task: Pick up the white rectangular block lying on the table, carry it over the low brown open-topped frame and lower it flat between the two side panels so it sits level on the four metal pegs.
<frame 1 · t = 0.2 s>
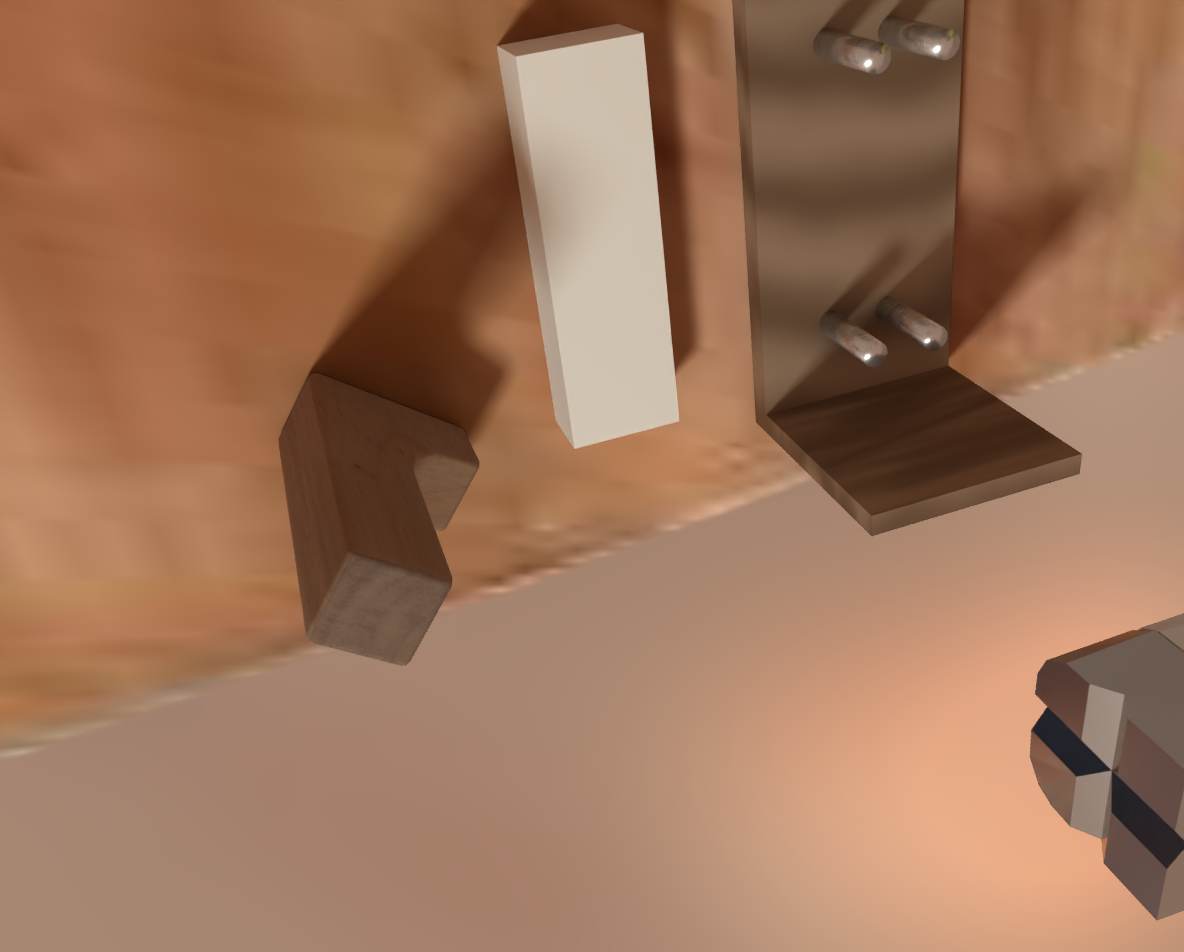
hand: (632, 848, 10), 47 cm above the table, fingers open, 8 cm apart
brown open-topped frame: (844, 178, 60), on the table
wooden block: (372, 432, 59), on the table
white rectangular block: (582, 235, 58), on the table
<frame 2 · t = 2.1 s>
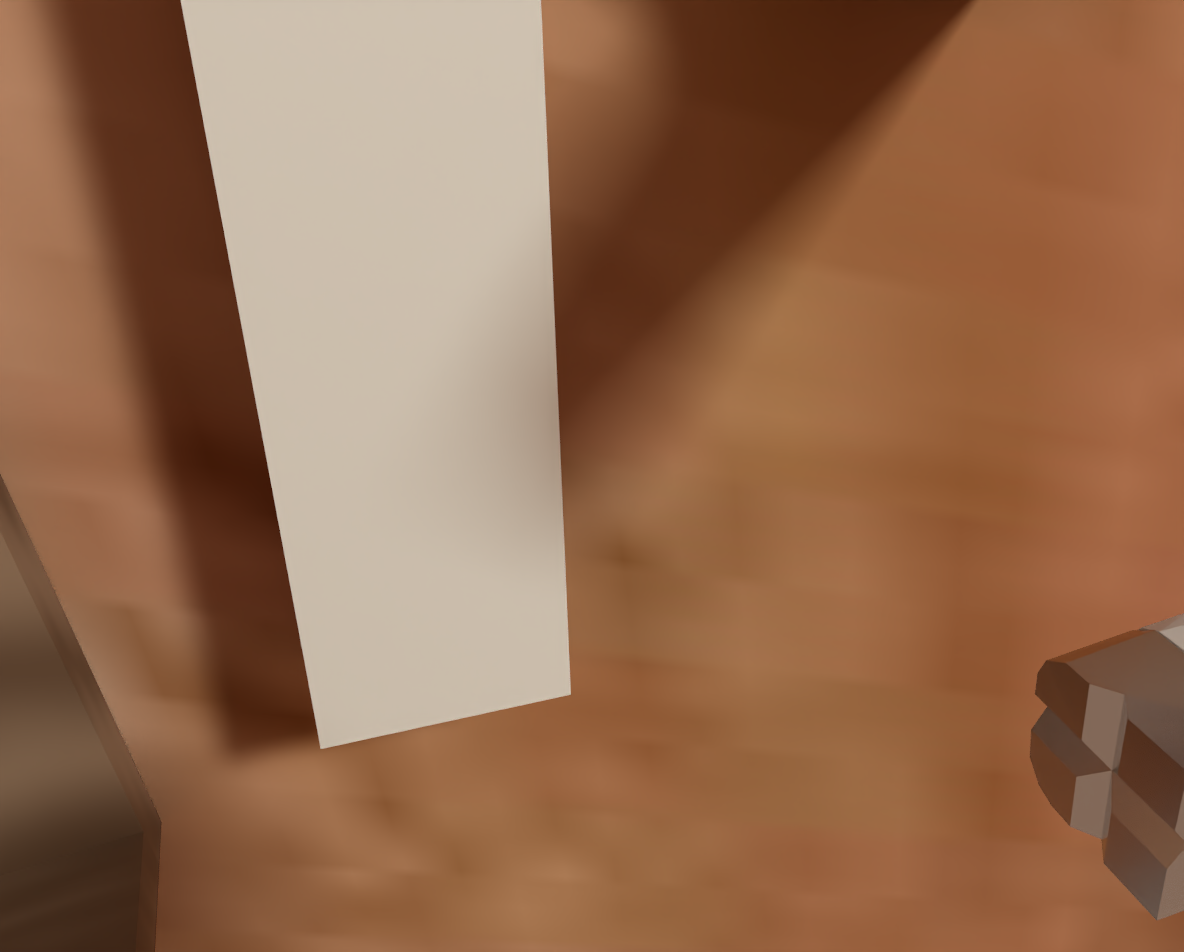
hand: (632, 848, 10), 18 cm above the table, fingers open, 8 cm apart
white rectangular block: (377, 263, 25), on the table
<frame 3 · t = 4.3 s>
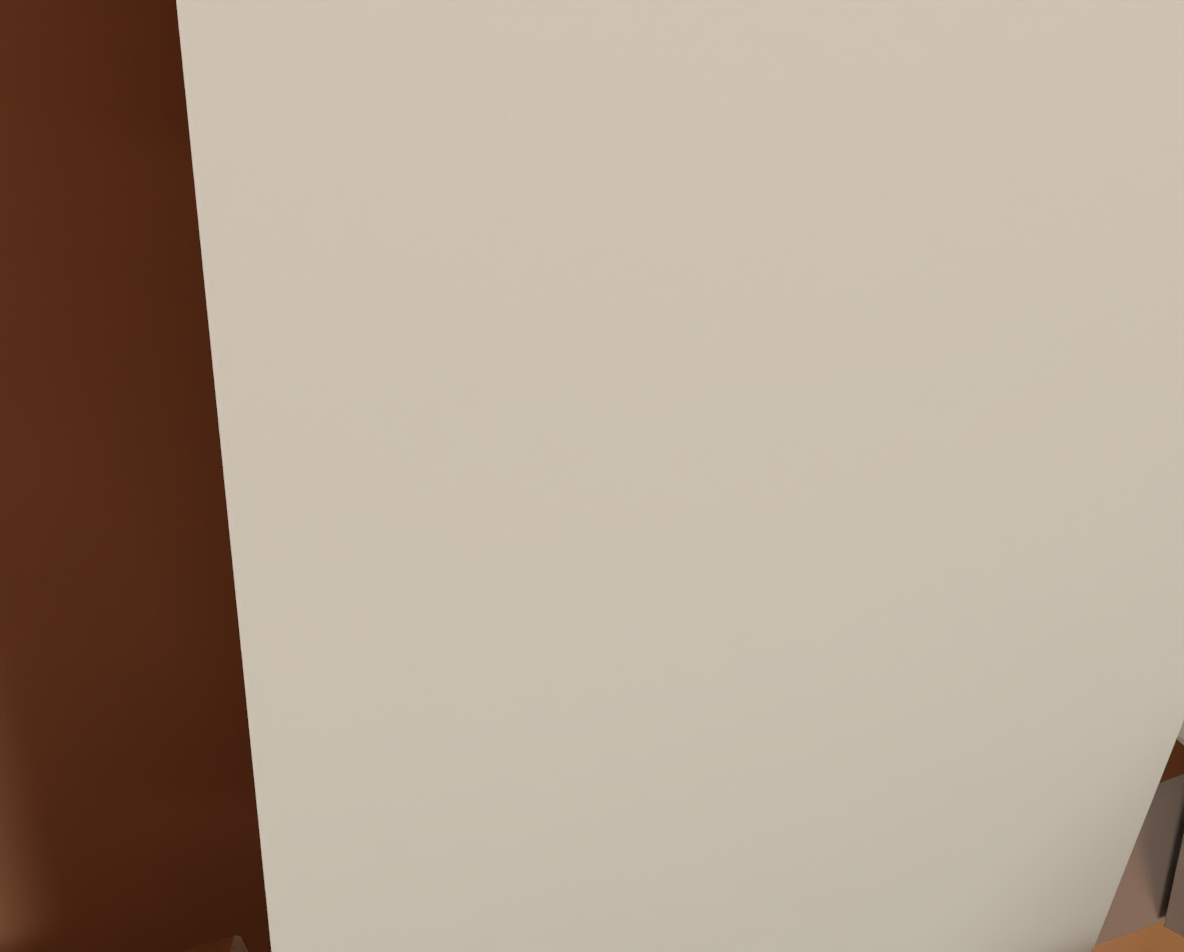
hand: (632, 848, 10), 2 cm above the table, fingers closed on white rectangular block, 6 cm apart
white rectangular block: (572, 710, 11), on the table, touching gripper
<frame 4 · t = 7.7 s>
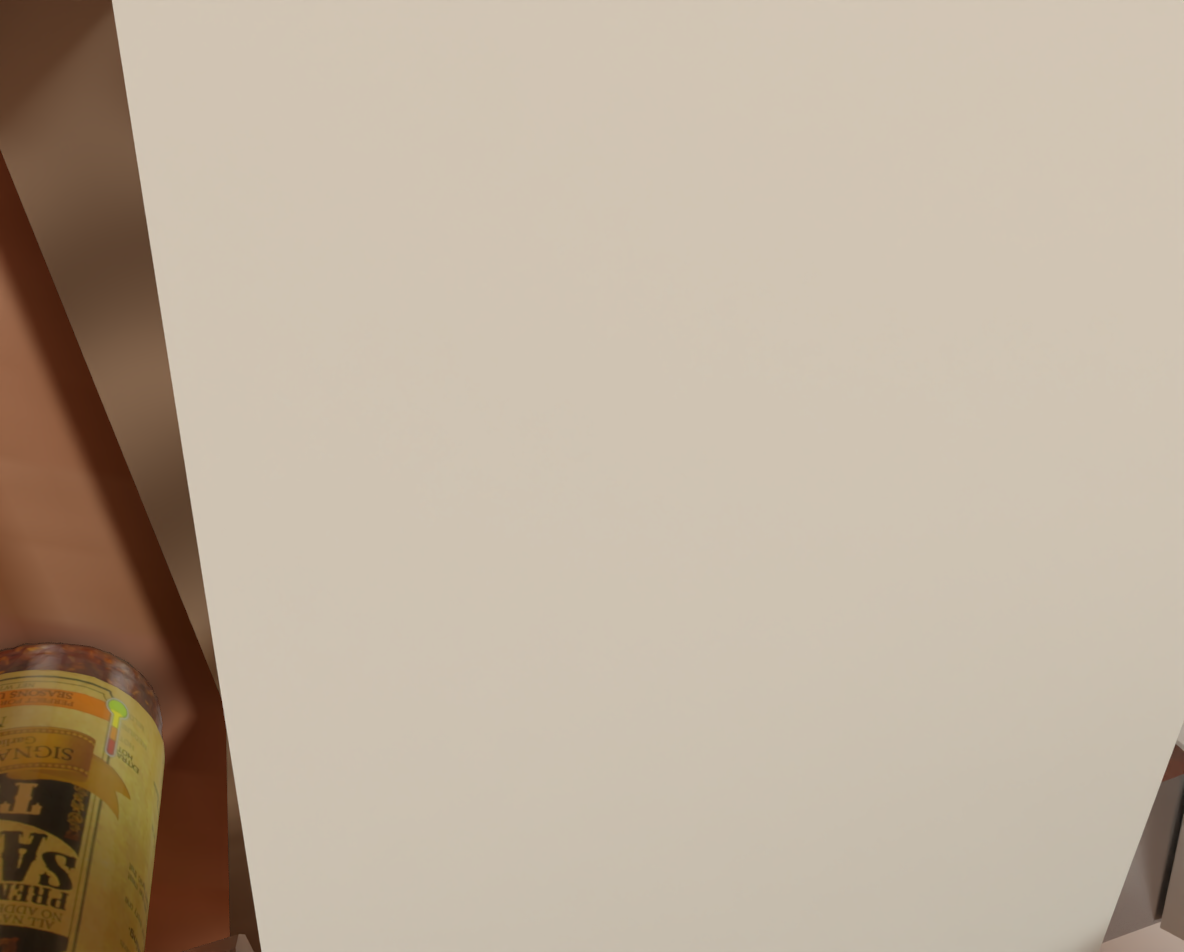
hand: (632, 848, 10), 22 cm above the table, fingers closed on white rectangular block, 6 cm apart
brown open-topped frame: (318, 234, 28), on the table
white rectangular block: (574, 709, 11), point 20 cm above the table, touching gripper
sauce bottle: (47, 715, 32), on the table
when the fingers open (9 cm above the table, at t = 11.1 s): white rectangular block stays where it is, resting on brown open-topped frame.
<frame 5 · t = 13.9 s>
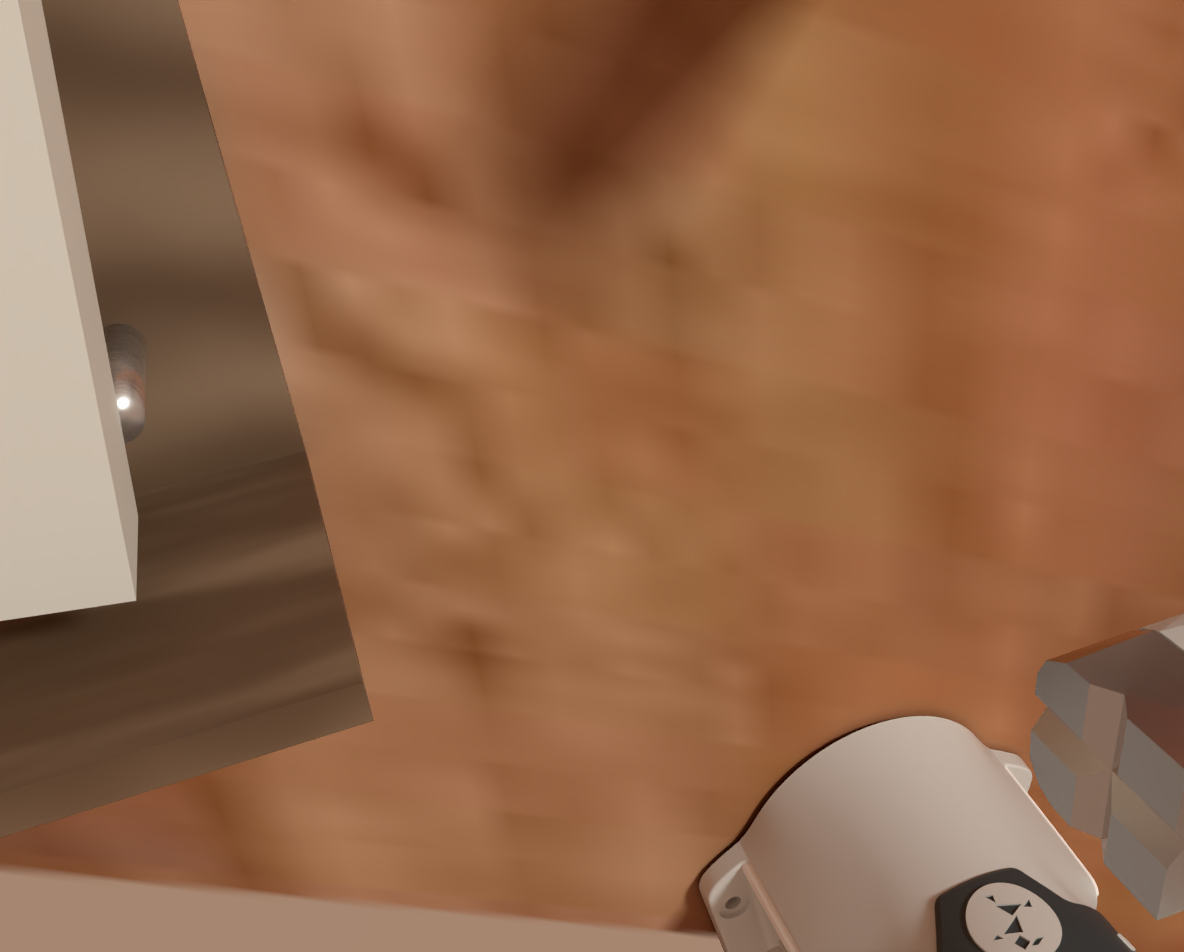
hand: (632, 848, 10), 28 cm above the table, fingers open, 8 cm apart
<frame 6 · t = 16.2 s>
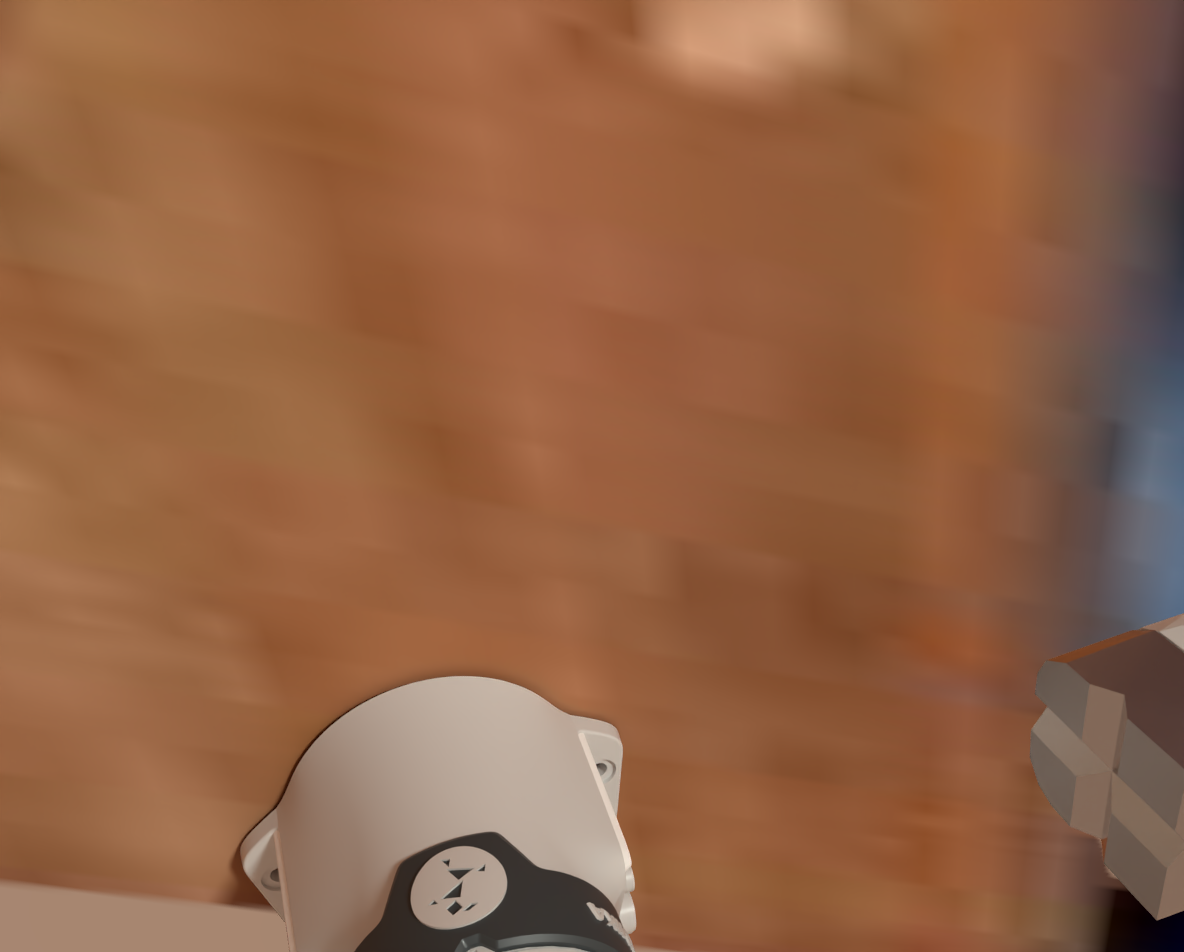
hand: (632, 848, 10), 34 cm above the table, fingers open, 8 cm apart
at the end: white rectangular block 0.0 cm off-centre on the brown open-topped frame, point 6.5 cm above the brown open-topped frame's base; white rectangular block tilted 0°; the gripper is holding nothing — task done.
